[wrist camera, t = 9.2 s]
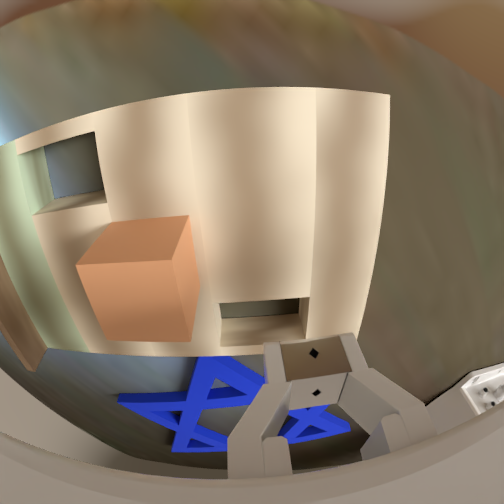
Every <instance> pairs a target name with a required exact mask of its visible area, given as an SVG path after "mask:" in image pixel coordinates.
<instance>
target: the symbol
mask: <svg viewBox="0 0 504 504" xmlns="http://www.w3.org/2000/svg"><path fill="white" fill-rule="evenodd" d="M215 377H216V378H217V379H219V380H221V381H223V382H225V383H226V384H228V385H230V386H231V387H223V388H214V389H211V387H212V384H213V382H214V379H215ZM263 384H265V378H264V377H262V376H260V375H259V374H257V373H255V372H254V371H252V370H250V369H249V368H247V367H246V366H244V365H242V364H241V363H239V362H238V361H236V360H234V359H233V358H231V357H230V356H197V359H196V362H195V365H194V369H193V372H192V376H191V379H190V383H189V386H188V390H187V391H181V392H164V393H120V394H119V397H118V401H117V403H119V404H121V405H123V406H124V407H126V408H128V409H130V410H132V411H134V412H136V413H138V414H140V415H142V416H144V417H146V418H148V419H150V420H152V421H154V422H156V423H158V424H160V425H162V426H165V427H167V428H169V429H171V430H174V431H176V432H175V436H174V440H173V443H172V450H171V452H218V451H228V450H227V438H228V437H227V436H224V435H222V434H219V433H217V432H214V431H212V430H209V429H207V428H204V427H202V426H200V425H197V424H196V423H197V421H198V419H199V416H200V414H201V411H202V409H213V408H224V407H233V406H242V405H250V404H251V403H252V401H253V400H254V398H255V396H256V395H257V393H258V392H259V390H260V389H261V387H262V385H263ZM329 405H330V404H328V405H321V406H313V407H308V408H301V409H295V410H289V413H288V415H290V416H292V418H291V419H290V420H289V421H288V422H287V423H286V424H285V425H284V426H283V428H282V429H281V430H280V431H279V433H278V434H277V436H282V437H284V438H286V439H287V441H288V444H292V443H298V442H303V441H309V440H314V439H318V438H323V437H328V436H332V435H336V434H340V433H344V432H348V431H351V429H350V425H349V423H348V422H346V421H344V420H342V419H340V418H338V417H336V416H334V415H332V414H330V413H328V412H326V411H324V410H325V409H326V408H327V407H328V406H329ZM169 411H181V414H180V416H178V415H176V414H173V413H171V412H169ZM309 425H313V426H311V427H308V426H309ZM277 436H276V437H277ZM190 438H193V439H195V440H190Z"/></svg>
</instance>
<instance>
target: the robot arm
mask: <svg viewBox="0 0 504 504" xmlns="http://www.w3.org/2000/svg"><path fill="white" fill-rule="evenodd" d="M263 354H264V375H265V384H263V385H262V387H261V389H260V390H259V392H258V393H257V395H256V396H255V398H254V400H253V401H252V403H251V404H250V406H249V407H248V409H247V410H246V412H245V413H244V415H243V416H242V418H241V419H240V421H239V422H238V424H237V425H236V427H235V428H234V430H233V431H232V433H231V434H230V435H229V437H228V438H227V450H228V479H190V478H176V477H165V476H155V475H148V474H140V473H134V472H128V471H122V470H117V469H112V468H107V467H103V466H98V465H94V464H90V463H86V462H82V461H78V460H75V459H71V458H68V457H65V456H62V455H58V454H55V453H52V452H49V451H46V450H44V449H41V448H38V447H35V446H33V445H30V444H28V443H25V442H23V441H20V440H18V439H16V438H13V437H11V436H9V435H7V434H4V433H2V432H0V504H504V363H501V364H498V365H494V366H491V367H488V368H484V369H480V370H477V371H473V372H471V373H469V374H468V375H466V376H465V377H464V378H463V379H462V380H461V381H460V382H459V383H458V384H456V385H455V386H454V387H453V388H451V389H450V390H448V391H447V392H445V393H444V394H442V395H441V396H439V397H438V398H437V399H435V400H434V401H433V402H431V403H430V404H429V405H428V406H426V407H425V404H424V403H423V402H422V401H420V400H419V399H417V398H416V397H414V396H413V395H411V394H410V393H408V392H407V391H405V390H404V389H402V388H401V387H399V386H398V385H397V384H395V383H394V382H392V381H391V380H389V379H388V378H386V377H385V376H383V375H382V374H381V373H379V372H378V371H376V370H375V369H373V368H369V369H368V366H367V364H366V361H365V359H364V357H363V354H362V352H361V349H360V347H359V345H358V342H357V340H356V338H355V335H354V334H353V333H352V332H350V333H344V334H338V335H329V336H322V337H315V338H308V339H301V340H289V341H278V342H264V343H263ZM334 403H338V405H339V406H340V407H341V408H342V409H343V410H344V411H345V412H346V413H347V414H348V415H349V416H350V417H351V418H353V419H354V420H355V421H356V422H357V423H358V424H359V425H360V426H361V427H362V428H363V429H364V430H365V431H366V432H367V433H368V434H369V435H370V437H369V438H368V440H367V441H366V442H365V444H364V445H363V447H362V448H361V449H360V451H361V455H362V459H363V461H360V462H356V463H352V464H348V465H343V466H339V467H334V468H329V469H324V470H319V471H313V472H307V473H300V474H293V473H292V466H291V460H290V453H289V447H288V441H287V439H286V438H284V437H282V436H277V434H278V433H279V431H280V429H281V427H282V425H283V423H284V421H285V419H286V417H287V415H288V413H289V410H295V409H301V408H308V407H313V406H321V405H328V404H334ZM276 436H277V437H276Z"/></svg>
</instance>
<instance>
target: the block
mask: <svg viewBox="0 0 504 504" xmlns="http://www.w3.org/2000/svg"><path fill="white" fill-rule="evenodd" d="M76 268H77V271H78V274H79V276H80V279H81V282H82V284H83V287H84V289H85V292H86V294H87V297H88V299H89V301H90V304H91V306H92V308H93V311H94V313H95V315H96V318H97V320H98V322H99V324H100V326H101V328H102V331H103V333H104V335H105V337H106V339H107V340H113V341H137V342H191V339H192V332H193V326H194V320H195V314H196V308H197V302H198V296H199V290H200V282H199V276H198V270H197V264H196V258H195V252H194V245H193V238H192V232H191V225H190V218H189V215H183V216H171V217H159V218H148V219H138V220H128V221H118V222H111V224H110V225H109V226H108V227H107V228H106V229H105V230H104V231H103V233H102V234H101V235H100V236H99V237H98V238H97V239H96V241H95V242H94V243H93V244H92V245H91V247H90V248H89V249H88V250H87V251H86V253H85V254H84V255H83V256H82V257H81V259H80V260H79V261H78V262H77V264H76Z"/></svg>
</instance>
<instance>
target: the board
mask: <svg viewBox="0 0 504 504" xmlns="http://www.w3.org/2000/svg"><path fill="white" fill-rule="evenodd" d="M389 124H390V95H386V94H379V93H372V92H363V91H354V90H343V89H330V88H309V87H258V88H237V89H223V90H212V91H203V92H194V93H186V94H179V95H172V96H166V97H160V98H154V99H149V100H144V101H139V102H134V103H129V104H125V105H120V106H116V107H112V108H108V109H104V110H100V111H97V112H93V113H89V114H86V115H82V116H79V117H76V118H73V119H69V120H66V121H63V122H60V123H57V124H54V125H52V126H49V127H46V128H43V129H41V130H38V131H35V132H33V133H30V134H28V135H25V136H23V137H20V138H18V139H16V140H13V141H11V142H9V143H6V144H4V145H2V146H0V331H1V332H2V334H3V335H4V337H5V339H6V340H7V342H8V343H9V345H10V346H11V348H12V349H13V351H14V352H15V354H16V355H17V356H18V358H19V359H20V361H21V362H22V363H23V365H24V366H25V368H26V369H27V370H28V371H33V372H35V371H36V369H37V367H38V365H39V363H40V361H41V359H42V357H43V355H44V354H45V352H46V350H47V348H54V349H62V350H70V351H80V352H90V353H102V354H116V355H135V356H170V357H196V356H232V355H251V354H263V343H264V342H278V341H289V340H301V339H308V338H315V337H322V336H329V335H338V334H344V333H350V332H352V333H353V334H354V335H355V338H356V340H357V337H358V333H359V329H360V325H361V321H362V317H363V313H364V309H365V305H366V300H367V296H368V291H369V287H370V282H371V277H372V272H373V267H374V262H375V256H376V250H377V244H378V238H379V232H380V225H381V218H382V211H383V203H384V194H385V184H386V174H387V162H388V146H389ZM93 131H95V137H96V144H97V151H98V157H99V163H100V168H101V174H102V179H103V184H104V189H105V190H101V191H95V192H89V193H83V194H78V195H73V196H67V197H62V198H57V199H55V198H54V194H53V190H52V186H51V181H50V177H49V172H48V167H47V162H46V157H45V151H44V146H45V145H48V144H51V143H54V142H57V141H60V140H64V139H67V138H71V137H74V136H78V135H81V134H85V133H89V132H93ZM183 215H189V218H190V225H191V232H192V238H193V245H194V252H195V258H196V264H197V270H198V276H199V282H200V290H199V296H198V302H197V308H196V314H195V320H194V326H193V332H192V339H191V342H137V341H113V340H107V339H106V337H105V335H104V333H103V331H102V328H101V326H100V324H99V322H98V320H97V318H96V315H95V313H94V311H93V308H92V306H91V304H90V301H89V299H88V297H87V294H86V292H85V289H84V287H83V284H82V282H81V279H80V276H79V274H78V271H77V268H76V264H77V262H78V261H79V260H80V259H81V257H82V256H83V255H84V254H85V253H86V251H87V250H88V249H89V248H90V247H91V245H92V244H93V243H94V242H95V241H96V239H97V238H98V237H99V236H100V235H101V234H102V233H103V231H104V230H105V229H106V228H107V227H108V226H109V225H110V224H111V222H118V221H128V220H138V219H148V218H159V217H171V216H183ZM290 298H300V300H299V313H297V314H285V315H273V316H259V317H243V318H223V319H222V318H221V311H220V305H219V303H230V302H247V301H263V300H277V299H290Z"/></svg>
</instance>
